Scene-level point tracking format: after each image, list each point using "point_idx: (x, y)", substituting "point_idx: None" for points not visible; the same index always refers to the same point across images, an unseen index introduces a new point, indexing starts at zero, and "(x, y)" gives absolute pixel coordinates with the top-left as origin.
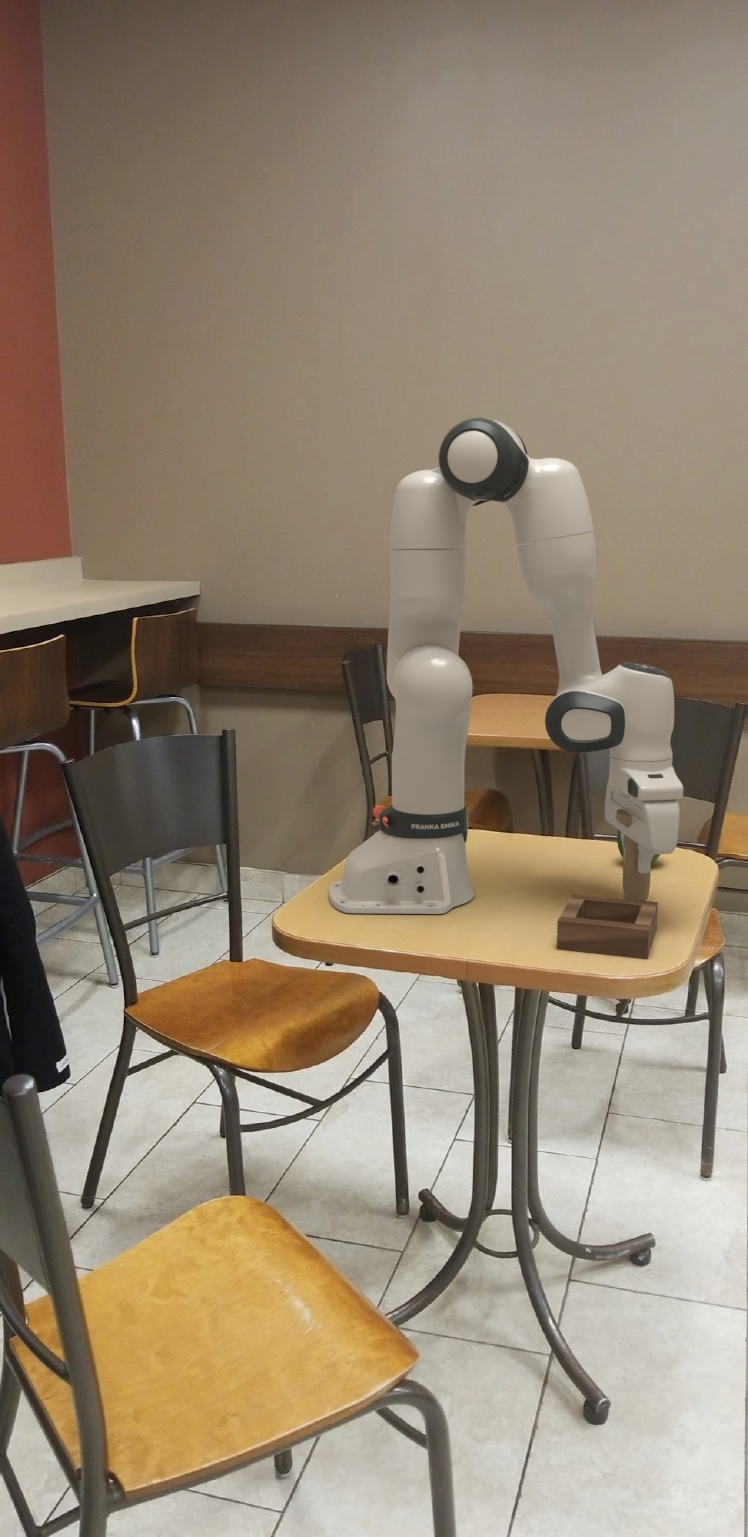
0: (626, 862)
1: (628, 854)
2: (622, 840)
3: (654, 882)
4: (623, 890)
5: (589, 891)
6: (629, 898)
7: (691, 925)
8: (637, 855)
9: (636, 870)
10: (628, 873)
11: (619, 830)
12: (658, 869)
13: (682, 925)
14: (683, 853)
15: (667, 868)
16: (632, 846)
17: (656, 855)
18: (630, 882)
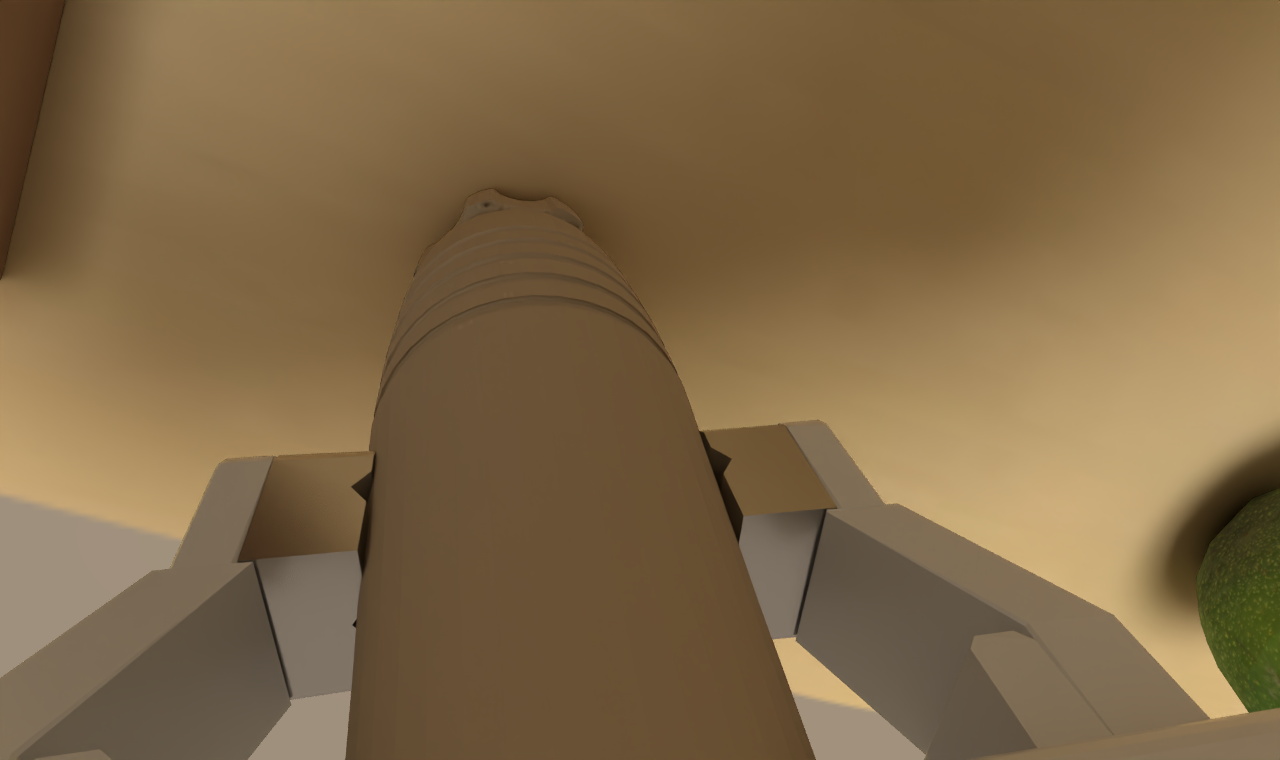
0: (494, 400)
1: (466, 509)
2: (1011, 594)
3: (980, 524)
4: (526, 224)
5: (1029, 63)
6: (443, 239)
7: (140, 524)
8: (365, 621)
9: (372, 450)
10: (437, 340)
11: (1162, 734)
12: (1140, 585)
13: (134, 475)
14: (1243, 709)
15: (1127, 622)
16: (407, 696)
17: (1209, 638)
18: (416, 309)
